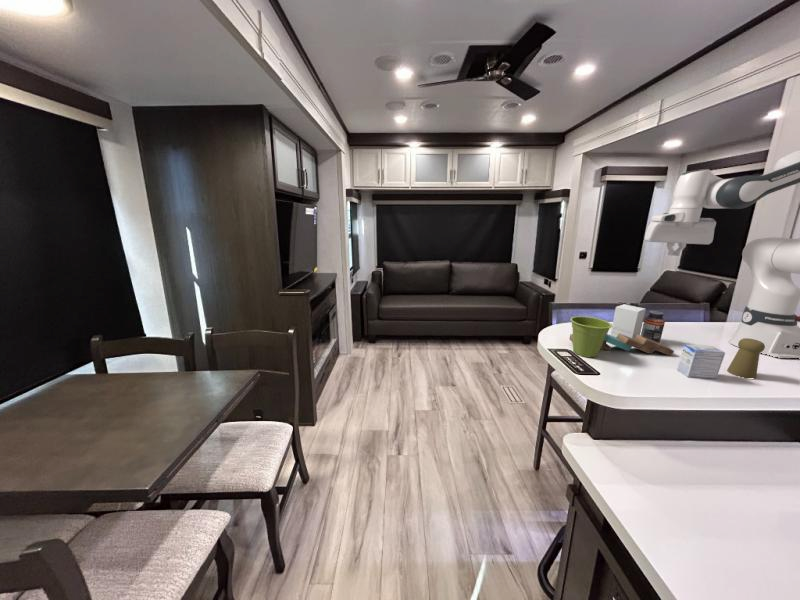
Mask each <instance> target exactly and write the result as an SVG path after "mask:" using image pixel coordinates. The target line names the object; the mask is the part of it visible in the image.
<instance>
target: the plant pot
mask: <svg viewBox="0 0 800 600" xmlns="http://www.w3.org/2000/svg"><path fill="white" fill-rule="evenodd" d="M570 321H571V328H572V334H573V342H572V351H573V353H575V354H576V355H578V356H580V355H581V356H580V357H585V358H591V357H593V358H596V357H598V355H599V353H600V351H601V350H600V348H601V346H602V343H603V341H604V338H605V336H606V334H609V333H608V332H609V330H610V329H612V324H613V323H611V322H609V321H607V320H604V319H601V318H598V317H591V316H583V315H582V316H572V317H571V318H570Z"/></svg>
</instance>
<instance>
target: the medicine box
mask: <svg viewBox="0 0 800 600" xmlns="http://www.w3.org/2000/svg"><path fill="white" fill-rule="evenodd" d="M725 355H726V352H725V351H724V350H722V349H719V348H718V347H715V346H714V345H702V344H699V345H698V344H684V345H683V348H682V351H681V355H680V358H679V361H678V365H677V368H676V370H677V372H678V373H679V372H680V373H681V374H682V375H683V376H685V377H687V378H699V379H700V378H701V379H717V378H718V376H719V373H720V370H721V367H722V364H723V360H724V358H725Z"/></svg>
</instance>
